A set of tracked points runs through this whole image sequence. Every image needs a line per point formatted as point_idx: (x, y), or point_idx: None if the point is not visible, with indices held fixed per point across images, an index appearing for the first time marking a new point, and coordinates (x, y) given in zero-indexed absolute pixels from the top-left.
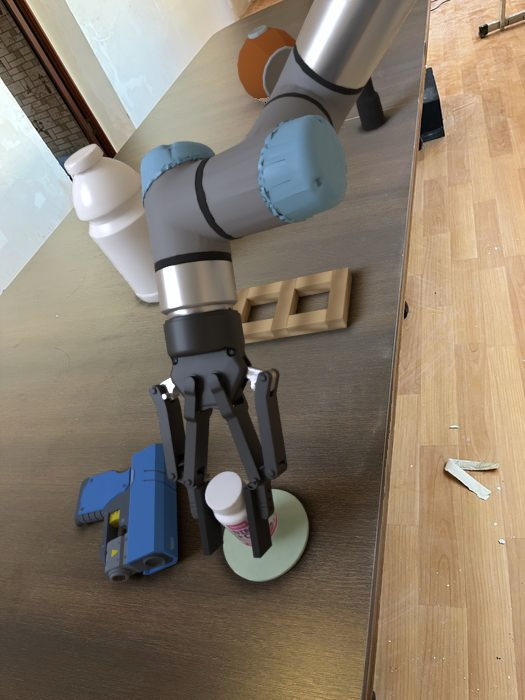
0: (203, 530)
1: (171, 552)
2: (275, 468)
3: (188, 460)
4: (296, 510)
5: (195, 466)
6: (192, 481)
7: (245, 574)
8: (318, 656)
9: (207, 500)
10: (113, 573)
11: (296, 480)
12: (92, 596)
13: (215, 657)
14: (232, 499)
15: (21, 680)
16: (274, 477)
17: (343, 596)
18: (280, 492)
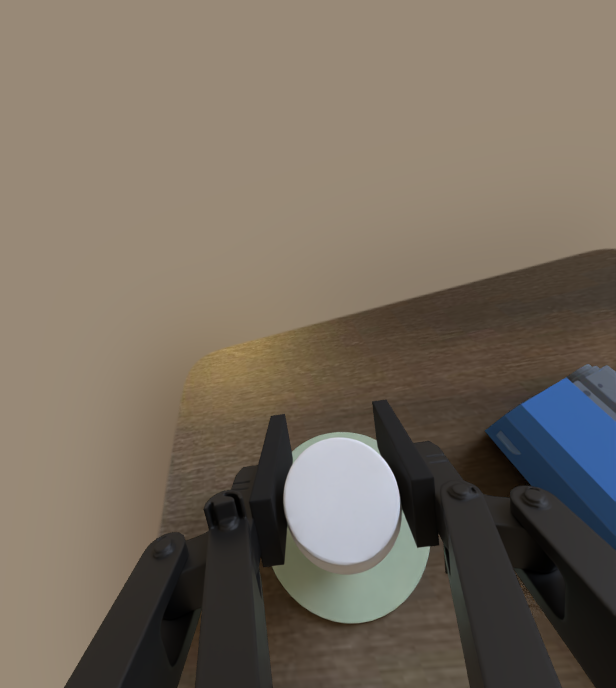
0: (390, 422)
1: (496, 427)
2: (142, 563)
3: (486, 555)
4: (291, 570)
5: (450, 541)
6: (446, 496)
7: (350, 437)
8: (230, 375)
9: (374, 455)
10: (587, 368)
11: (313, 658)
12: (610, 355)
13: (354, 343)
14: (301, 469)
15: (610, 257)
16: (160, 537)
17: (203, 442)
18: (336, 614)
